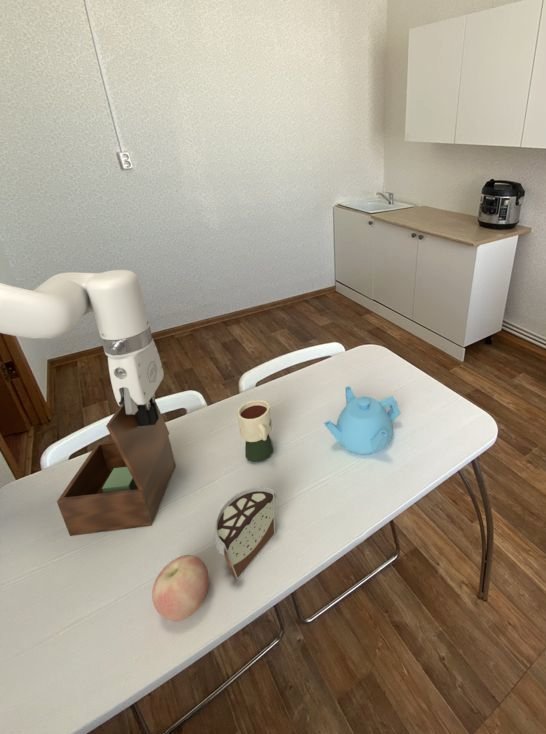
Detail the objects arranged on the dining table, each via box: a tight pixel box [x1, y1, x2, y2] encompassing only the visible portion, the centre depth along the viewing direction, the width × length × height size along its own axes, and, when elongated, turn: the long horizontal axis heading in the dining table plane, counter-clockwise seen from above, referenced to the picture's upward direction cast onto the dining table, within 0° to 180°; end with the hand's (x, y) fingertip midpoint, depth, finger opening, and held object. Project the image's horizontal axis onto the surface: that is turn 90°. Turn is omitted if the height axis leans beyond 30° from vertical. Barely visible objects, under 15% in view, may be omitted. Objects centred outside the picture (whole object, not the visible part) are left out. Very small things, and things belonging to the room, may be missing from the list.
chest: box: [56, 435, 176, 537], centre depth 78 cm, size 15×15×9 cm
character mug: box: [236, 399, 274, 463], centre depth 88 cm, size 11×7×13 cm, turn 37°
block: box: [102, 467, 138, 493], centre depth 78 cm, size 5×5×5 cm
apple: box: [151, 554, 210, 622], centre depth 60 cm, size 8×8×8 cm
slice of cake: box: [213, 486, 278, 581], centre depth 68 cm, size 12×6×10 cm, turn 149°
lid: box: [105, 400, 170, 491], centre depth 75 cm, size 15×15×1 cm
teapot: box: [323, 385, 401, 456], centre depth 93 cm, size 15×15×11 cm
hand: (149, 422), depth 74 cm, fingers closed
